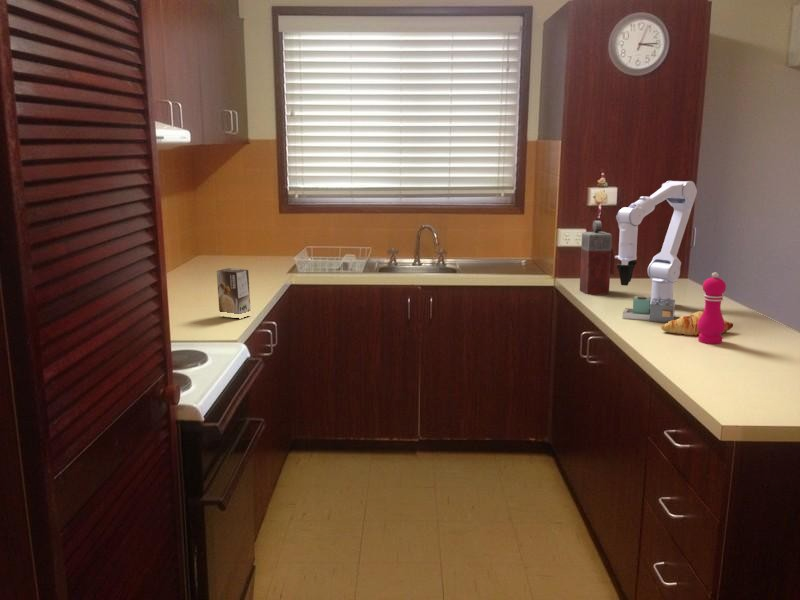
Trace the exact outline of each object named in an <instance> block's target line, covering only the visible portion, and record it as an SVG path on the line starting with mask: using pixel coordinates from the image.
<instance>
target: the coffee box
mask: <svg viewBox="0 0 800 600" xmlns="http://www.w3.org/2000/svg"><path fill="white" fill-rule="evenodd" d="M216 282H217V297H218V308H219V309H218V311H220V312H227V313H234V314H242V313H246V312H249V311H251V310H252V309H251V295H250V278H249V269H243V268H229V267H227V268H223V269H220V270H219V269H218V270H216ZM251 312H252V311H251Z"/></svg>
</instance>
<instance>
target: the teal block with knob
mask: <svg viewBox="0 0 800 600" xmlns="http://www.w3.org/2000/svg"><path fill="white" fill-rule="evenodd" d="M632 301H633V302H632V308H633V313H639V314H650V302H651V296H650V297H648V296H634V297H633V300H632Z"/></svg>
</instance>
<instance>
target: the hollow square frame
mask: <svg viewBox="0 0 800 600" xmlns="http://www.w3.org/2000/svg"><path fill="white" fill-rule="evenodd" d="M650 302H651V301H650ZM675 310H676V299H673V300H672V299H670V298H667V299H661V298H660V297H658V299H656V298H653V300H652V302H651V304H650V314H639V313H633V307H631V308H630V307H625V308H624V310H623V312H622V316H621V317H622V319H624V320H626V319H627V320H637V321H638V320H639V321H649V322H656V323H666V322H669V321H671V320H675V319H674V318H675Z"/></svg>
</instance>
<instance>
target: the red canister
mask: <svg viewBox="0 0 800 600" xmlns="http://www.w3.org/2000/svg"><path fill="white" fill-rule="evenodd" d="M592 222H593V223H592V230H593V231H583V232H582V234H581V246H580V247H581V250H580V271H579V272H580V274H579V291H580V292H581V293H583V294H585V295H586V294H593V295H609V294H610V282H611V281H610V279H611V276H613V275H615V272H616V271H615V269H616V264H615V263H616V258H615V256H616V253H615V250H614V248H612V240H613V235H612V233H610V232H606V231H602V228H603V226H602V221H601V220H593V221H592Z"/></svg>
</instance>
